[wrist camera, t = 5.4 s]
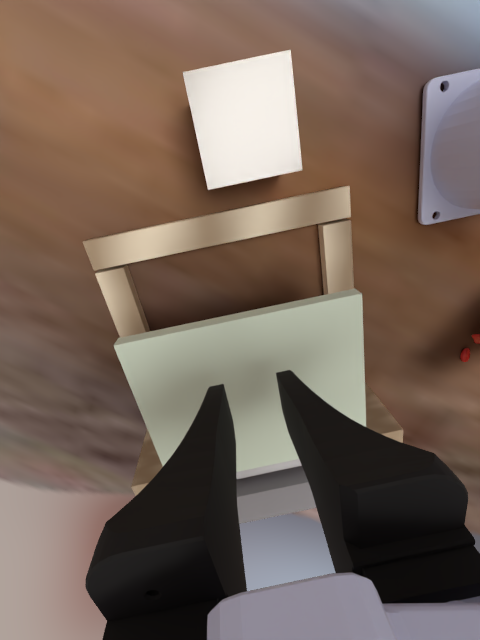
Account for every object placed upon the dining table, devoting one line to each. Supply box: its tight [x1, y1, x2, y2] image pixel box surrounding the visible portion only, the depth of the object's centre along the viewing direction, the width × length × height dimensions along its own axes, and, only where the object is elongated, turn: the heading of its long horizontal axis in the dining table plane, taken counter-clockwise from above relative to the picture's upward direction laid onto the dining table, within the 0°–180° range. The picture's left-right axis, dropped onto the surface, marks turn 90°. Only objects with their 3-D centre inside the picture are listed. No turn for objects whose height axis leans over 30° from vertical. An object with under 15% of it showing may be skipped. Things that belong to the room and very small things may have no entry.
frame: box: [83, 186, 403, 495], centre depth 20 cm, size 16×20×7 cm
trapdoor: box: [114, 289, 366, 524], centre depth 17 cm, size 12×13×2 cm
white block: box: [183, 50, 302, 190], centre depth 16 cm, size 4×4×5 cm
